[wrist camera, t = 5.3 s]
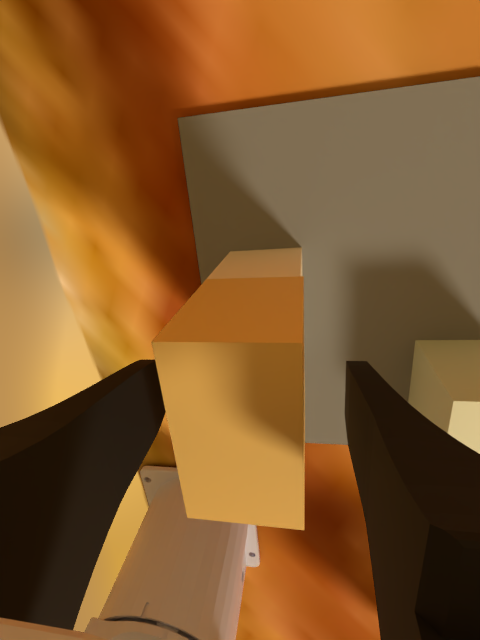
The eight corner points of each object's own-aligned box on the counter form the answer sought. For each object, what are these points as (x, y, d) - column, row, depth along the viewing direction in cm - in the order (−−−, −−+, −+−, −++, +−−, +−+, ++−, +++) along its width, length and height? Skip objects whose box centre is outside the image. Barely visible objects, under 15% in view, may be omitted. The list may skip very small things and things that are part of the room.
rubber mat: (541, 449, 19) (546, 454, 19) (224, 434, 23) (223, 438, 22) (669, 52, 12) (681, 48, 12) (180, 119, 16) (177, 117, 15)
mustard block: (304, 415, 14) (304, 530, 10) (222, 412, 15) (187, 517, 11) (303, 276, 12) (302, 342, 8) (206, 279, 13) (151, 342, 8)
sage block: (472, 437, 19) (523, 520, 15) (404, 434, 20) (433, 513, 15) (493, 339, 17) (562, 403, 12) (415, 340, 17) (453, 401, 13)
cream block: (304, 357, 19) (304, 417, 14) (241, 357, 20) (222, 414, 15) (301, 247, 17) (300, 278, 12) (230, 251, 17) (203, 281, 13)
